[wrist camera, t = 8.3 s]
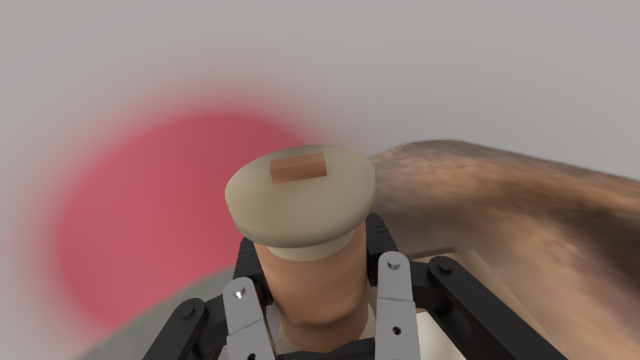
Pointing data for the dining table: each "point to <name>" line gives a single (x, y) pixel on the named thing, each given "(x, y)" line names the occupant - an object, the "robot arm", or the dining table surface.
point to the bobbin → (310, 240)
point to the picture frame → (434, 344)
